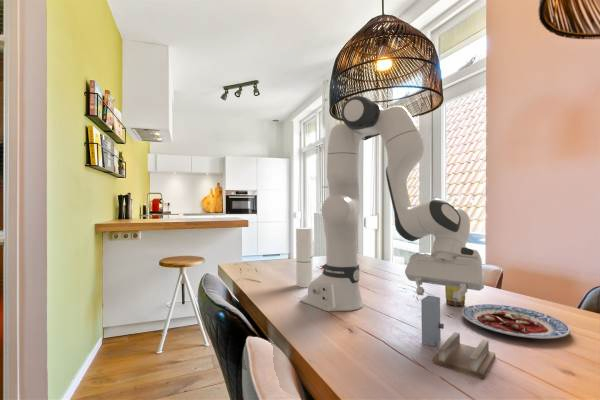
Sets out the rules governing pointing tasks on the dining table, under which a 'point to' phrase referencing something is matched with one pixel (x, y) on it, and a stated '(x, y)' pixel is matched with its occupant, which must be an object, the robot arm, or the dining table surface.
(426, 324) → the upright grey pillar
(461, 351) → the floor track
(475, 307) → the ceramic plate
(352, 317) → the dining table surface
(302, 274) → the cylindrical container
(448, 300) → the sauce bottle
